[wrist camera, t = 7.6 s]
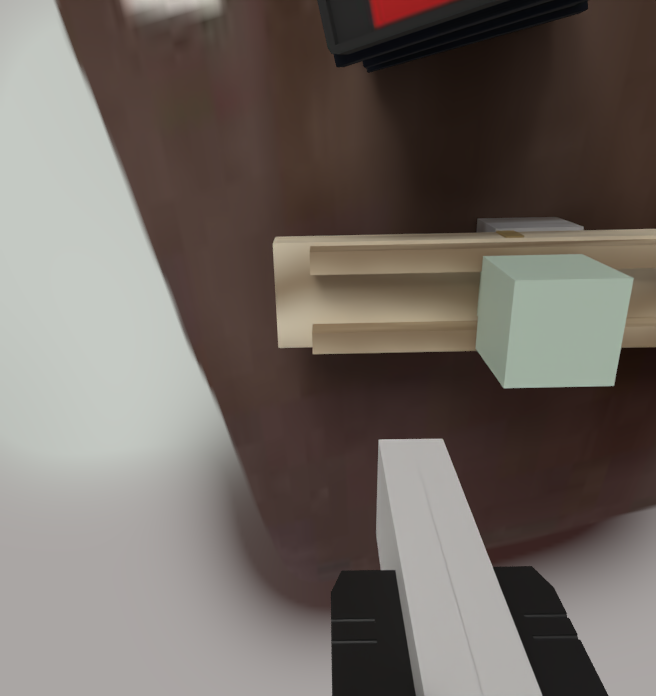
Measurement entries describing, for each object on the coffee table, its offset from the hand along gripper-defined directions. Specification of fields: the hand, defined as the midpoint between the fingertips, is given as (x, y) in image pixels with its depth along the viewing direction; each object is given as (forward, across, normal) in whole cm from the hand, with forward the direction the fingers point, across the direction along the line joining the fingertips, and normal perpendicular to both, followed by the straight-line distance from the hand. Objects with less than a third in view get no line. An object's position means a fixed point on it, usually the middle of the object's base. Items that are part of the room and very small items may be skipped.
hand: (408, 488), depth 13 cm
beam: (+25, +10, 0) cm, 27 cm away
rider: (+19, +9, 0) cm, 20 cm away
